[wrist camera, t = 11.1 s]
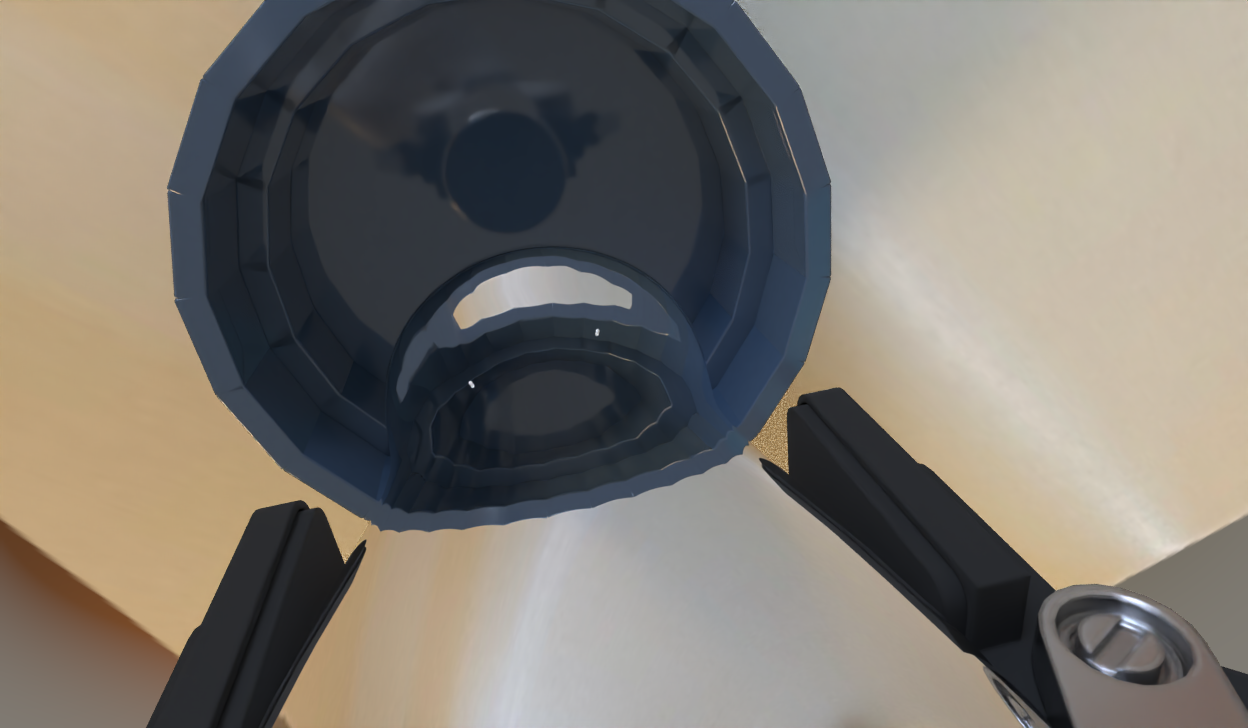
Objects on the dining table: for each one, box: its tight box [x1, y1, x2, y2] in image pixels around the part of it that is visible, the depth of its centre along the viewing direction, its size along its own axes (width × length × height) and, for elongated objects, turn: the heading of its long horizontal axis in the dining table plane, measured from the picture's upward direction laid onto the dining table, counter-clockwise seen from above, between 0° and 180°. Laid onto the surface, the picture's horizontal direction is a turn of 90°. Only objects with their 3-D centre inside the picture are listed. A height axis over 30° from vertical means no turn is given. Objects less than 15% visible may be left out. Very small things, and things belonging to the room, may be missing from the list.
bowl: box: [167, 0, 831, 521], centre depth 22 cm, size 18×18×6 cm
